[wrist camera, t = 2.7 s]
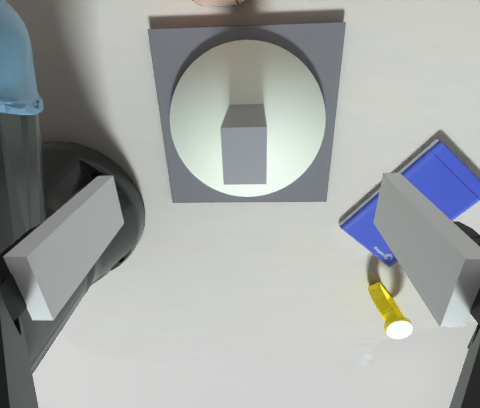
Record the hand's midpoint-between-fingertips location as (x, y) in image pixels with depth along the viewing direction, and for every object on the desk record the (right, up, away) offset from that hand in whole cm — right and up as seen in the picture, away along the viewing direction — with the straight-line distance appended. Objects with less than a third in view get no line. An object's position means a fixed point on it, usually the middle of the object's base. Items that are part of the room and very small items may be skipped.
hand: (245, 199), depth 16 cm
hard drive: (+18, 0, +18) cm, 25 cm away
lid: (0, +7, +13) cm, 15 cm away
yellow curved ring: (+17, -11, +23) cm, 31 cm away
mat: (0, +7, +14) cm, 16 cm away
